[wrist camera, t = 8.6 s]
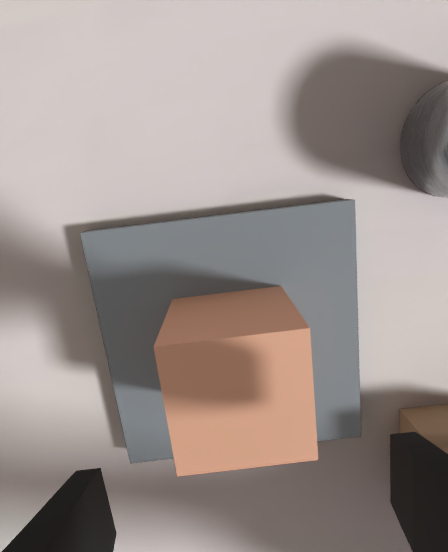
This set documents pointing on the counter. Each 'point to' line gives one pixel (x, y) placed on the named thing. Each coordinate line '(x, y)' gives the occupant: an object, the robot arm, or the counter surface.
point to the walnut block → (427, 423)
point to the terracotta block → (237, 381)
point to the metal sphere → (427, 142)
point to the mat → (220, 279)
